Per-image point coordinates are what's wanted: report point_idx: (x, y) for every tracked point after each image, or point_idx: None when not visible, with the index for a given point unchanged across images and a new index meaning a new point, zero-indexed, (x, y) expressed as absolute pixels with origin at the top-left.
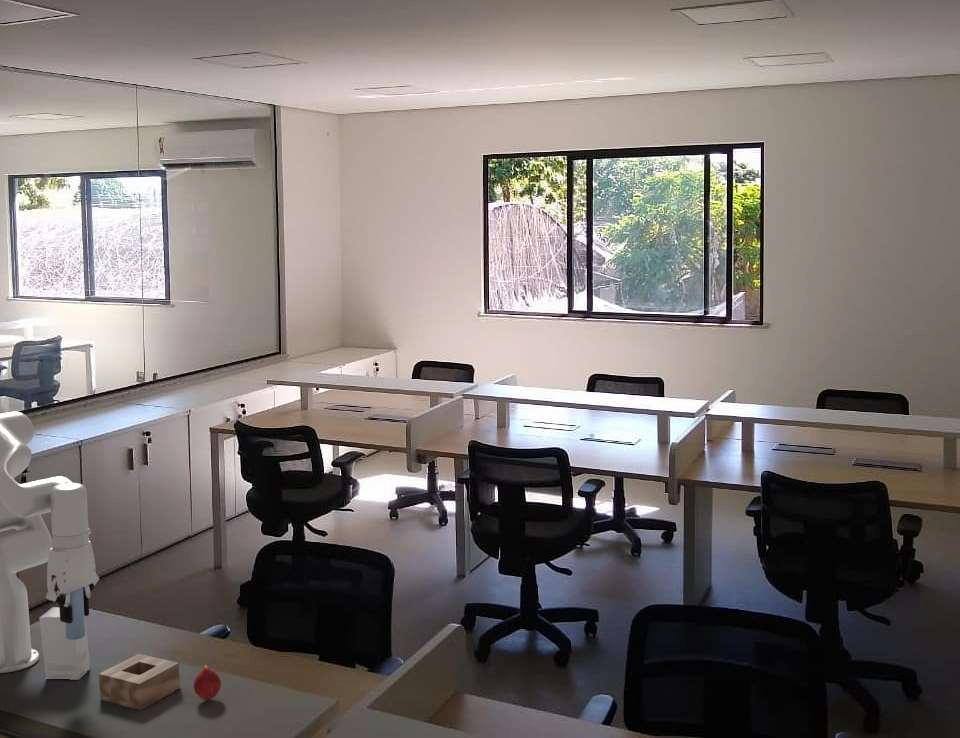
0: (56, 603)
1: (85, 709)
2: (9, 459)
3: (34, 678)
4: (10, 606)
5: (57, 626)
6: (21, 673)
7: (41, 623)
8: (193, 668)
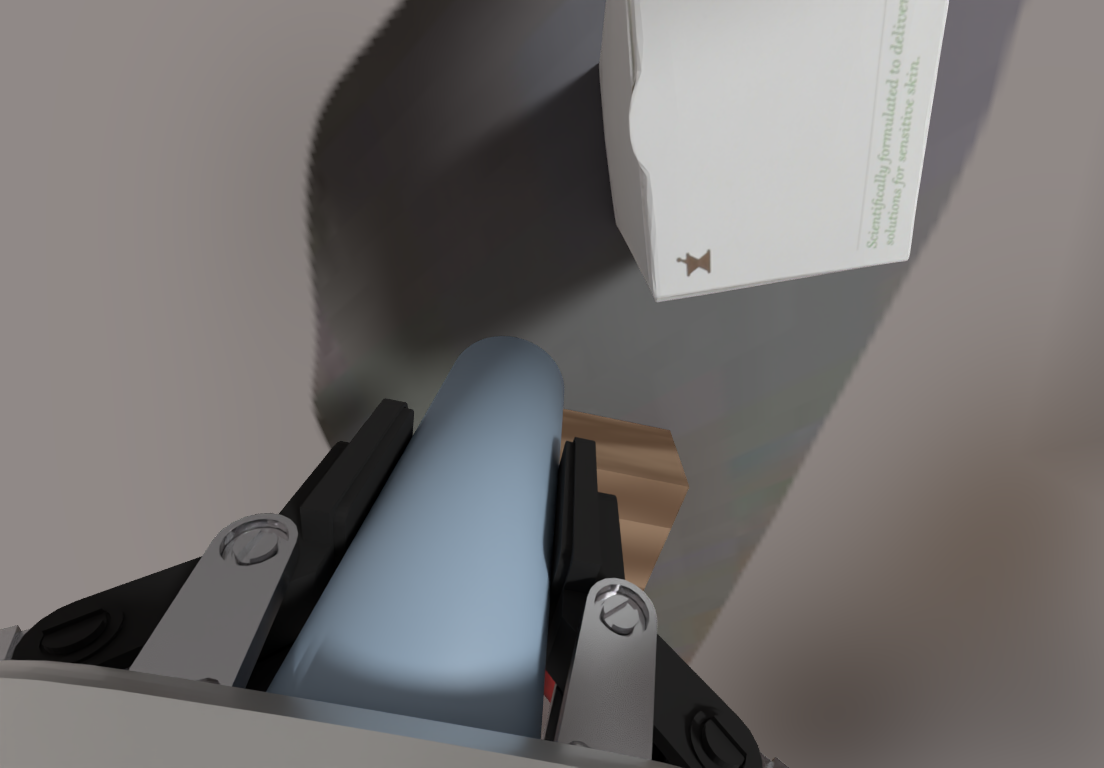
0: (223, 530)
1: (427, 389)
2: None
3: None
4: None
5: (625, 147)
6: None
7: None
8: (758, 531)
